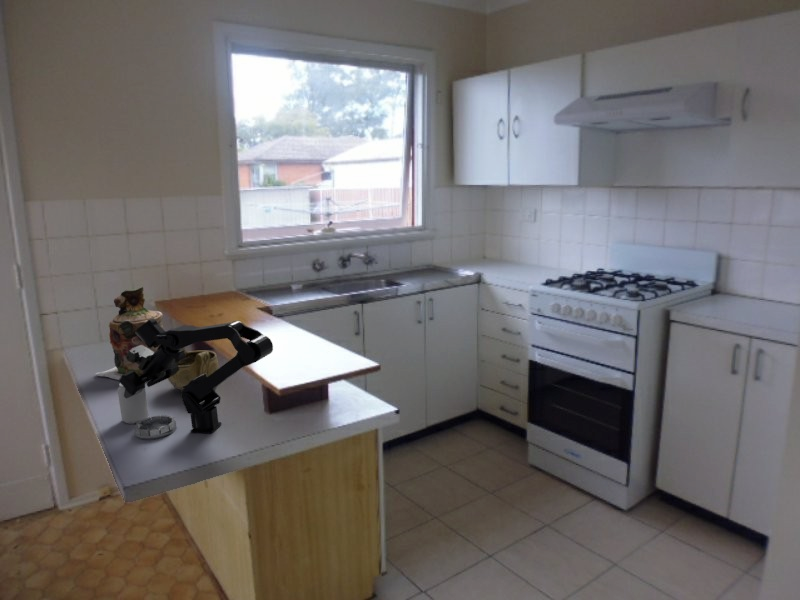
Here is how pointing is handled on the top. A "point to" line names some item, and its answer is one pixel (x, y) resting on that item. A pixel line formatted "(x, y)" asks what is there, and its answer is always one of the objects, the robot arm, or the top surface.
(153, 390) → the top surface
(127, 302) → the cookie jar
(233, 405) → the top surface
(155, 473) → the top surface
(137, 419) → the can
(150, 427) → the rosette plate
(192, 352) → the ceramic bowl
